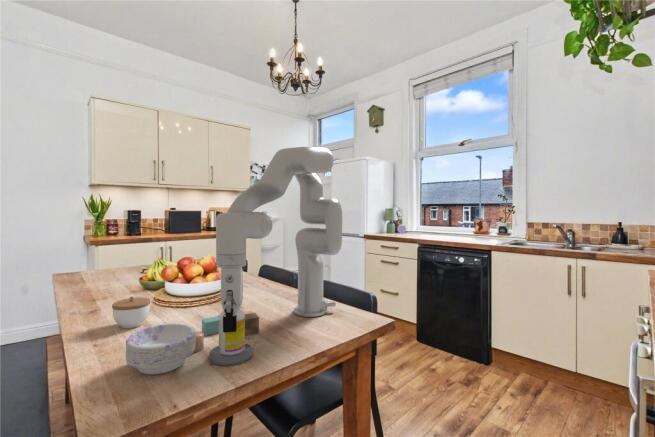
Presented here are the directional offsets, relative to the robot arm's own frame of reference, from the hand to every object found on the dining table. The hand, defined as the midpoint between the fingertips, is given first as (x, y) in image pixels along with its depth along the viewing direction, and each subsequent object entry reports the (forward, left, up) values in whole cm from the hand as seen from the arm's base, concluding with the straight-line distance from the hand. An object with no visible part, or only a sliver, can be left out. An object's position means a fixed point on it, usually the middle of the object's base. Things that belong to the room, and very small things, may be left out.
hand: (231, 324), depth 84 cm
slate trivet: (0, 0, -8) cm, 8 cm away
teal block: (+7, -18, -8) cm, 22 cm away
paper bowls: (+16, +2, -9) cm, 19 cm away
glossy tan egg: (+10, -6, -8) cm, 14 cm away
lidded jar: (+34, -29, -8) cm, 45 cm away
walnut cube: (-4, -16, -8) cm, 19 cm away
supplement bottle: (0, 0, -7) cm, 7 cm away
